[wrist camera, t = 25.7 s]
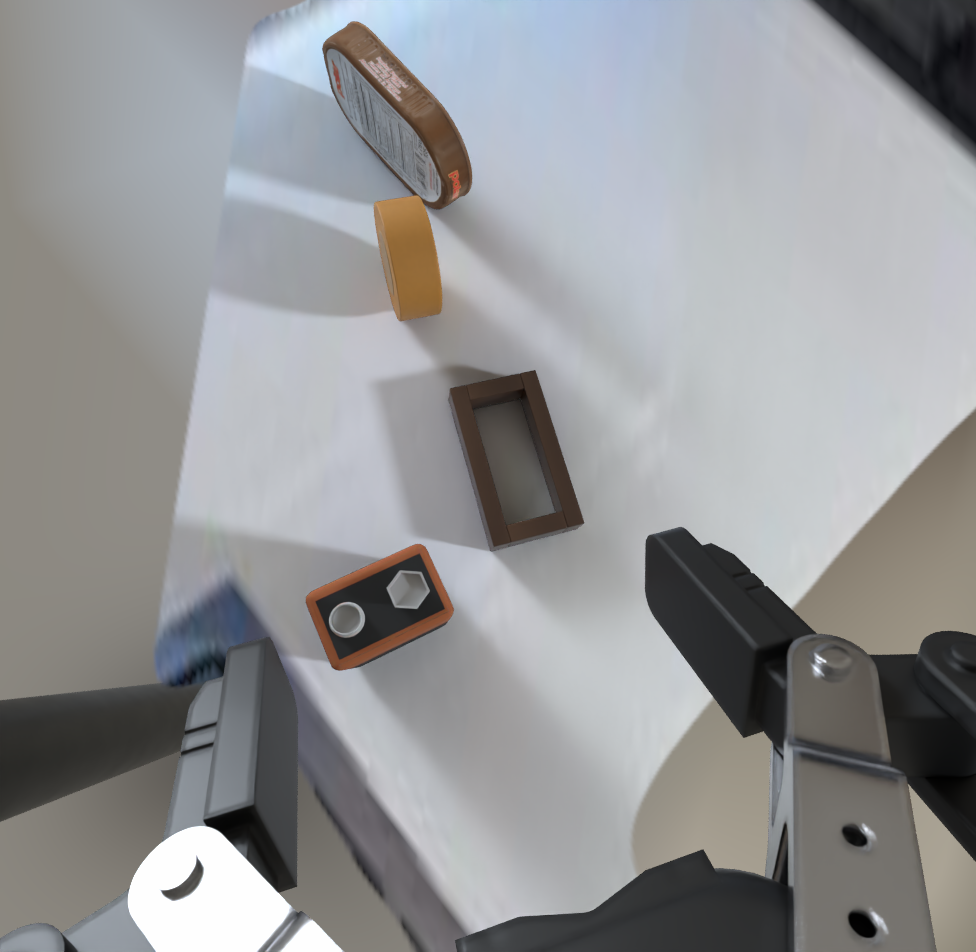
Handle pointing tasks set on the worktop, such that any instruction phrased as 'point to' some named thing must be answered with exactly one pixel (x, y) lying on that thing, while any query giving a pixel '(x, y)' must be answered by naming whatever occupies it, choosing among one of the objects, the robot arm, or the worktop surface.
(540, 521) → the tape holder
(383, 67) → the tin
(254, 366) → the worktop surface
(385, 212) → the tape roll
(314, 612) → the battery
